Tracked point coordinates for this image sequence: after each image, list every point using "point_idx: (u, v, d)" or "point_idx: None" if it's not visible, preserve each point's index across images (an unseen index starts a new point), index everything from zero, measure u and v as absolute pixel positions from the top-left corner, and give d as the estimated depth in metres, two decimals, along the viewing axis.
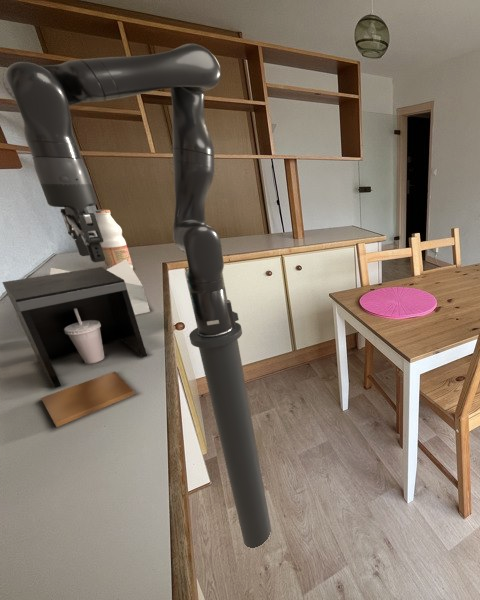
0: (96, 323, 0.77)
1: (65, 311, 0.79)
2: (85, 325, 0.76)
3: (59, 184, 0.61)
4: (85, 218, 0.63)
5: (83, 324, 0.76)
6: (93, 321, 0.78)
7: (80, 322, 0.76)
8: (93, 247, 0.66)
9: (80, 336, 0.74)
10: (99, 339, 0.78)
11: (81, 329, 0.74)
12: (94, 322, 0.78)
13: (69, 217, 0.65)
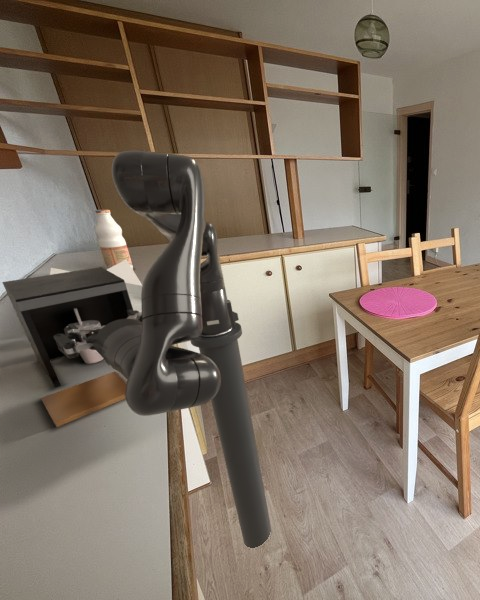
0: (96, 323, 0.77)
1: (65, 311, 0.79)
2: (85, 325, 0.76)
3: None
4: None
5: (83, 324, 0.76)
6: (93, 321, 0.78)
7: (80, 322, 0.76)
8: None
9: None
10: None
11: None
12: (94, 322, 0.78)
13: None
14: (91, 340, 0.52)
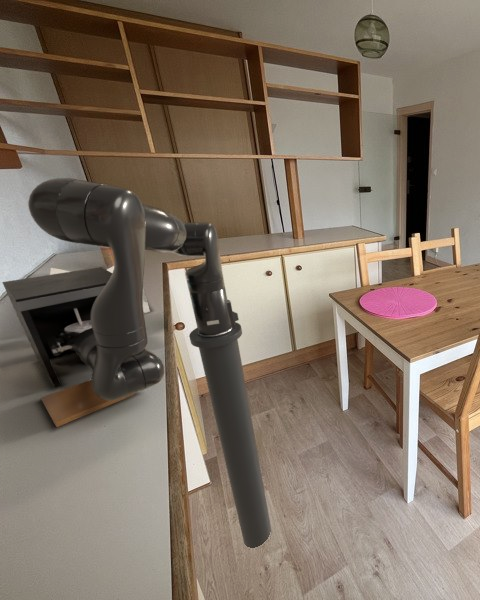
0: None
1: (65, 311, 0.79)
2: (85, 325, 0.76)
3: None
4: None
5: (83, 324, 0.76)
6: None
7: (80, 322, 0.76)
8: None
9: None
10: None
11: (81, 329, 0.74)
12: None
13: None
14: (70, 343, 0.69)
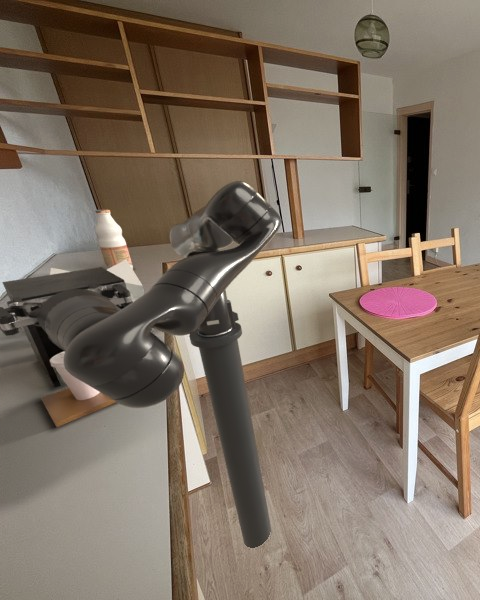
0: None
1: None
2: None
3: None
4: None
5: None
6: None
7: None
8: None
9: None
10: None
11: None
12: None
13: None
14: (35, 314, 0.42)
